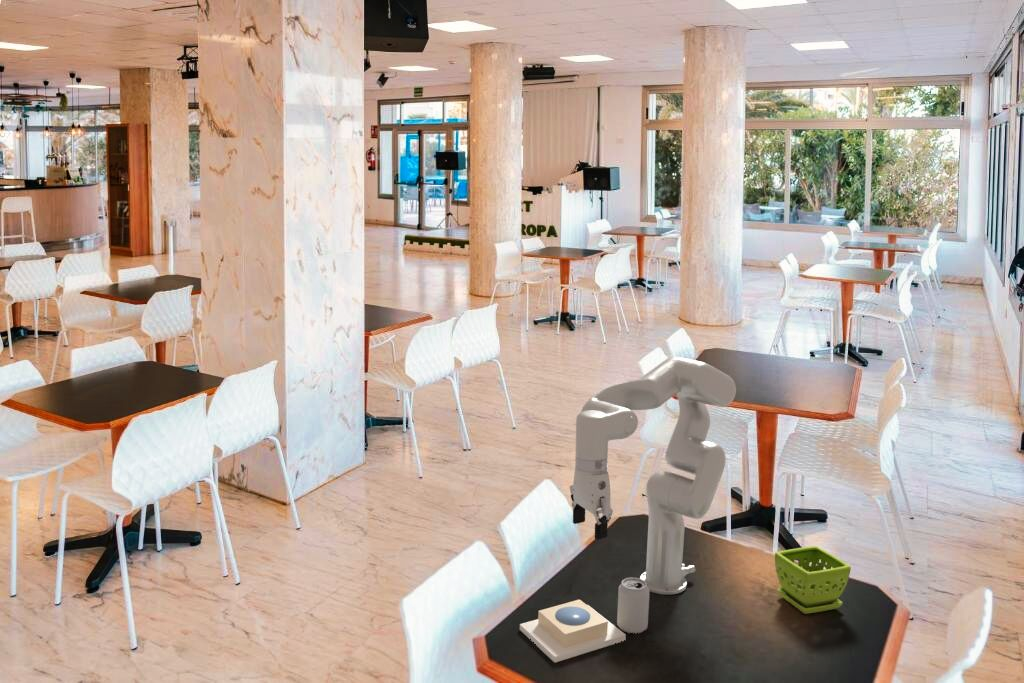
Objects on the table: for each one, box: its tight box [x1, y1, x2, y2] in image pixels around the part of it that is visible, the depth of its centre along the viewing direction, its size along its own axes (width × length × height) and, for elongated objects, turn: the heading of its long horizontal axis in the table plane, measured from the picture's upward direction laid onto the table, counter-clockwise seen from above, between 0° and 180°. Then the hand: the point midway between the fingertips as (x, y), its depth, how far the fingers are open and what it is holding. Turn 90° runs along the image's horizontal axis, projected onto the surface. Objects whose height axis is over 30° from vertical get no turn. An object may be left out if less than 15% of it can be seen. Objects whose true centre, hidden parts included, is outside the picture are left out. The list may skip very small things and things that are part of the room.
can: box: [616, 576, 651, 635], centre depth 213 cm, size 8×8×12 cm
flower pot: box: [774, 545, 852, 615], centre depth 226 cm, size 14×14×13 cm
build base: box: [519, 599, 627, 663], centre depth 210 cm, size 20×16×5 cm
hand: (589, 530), depth 210 cm, fingers open, 9 cm apart
